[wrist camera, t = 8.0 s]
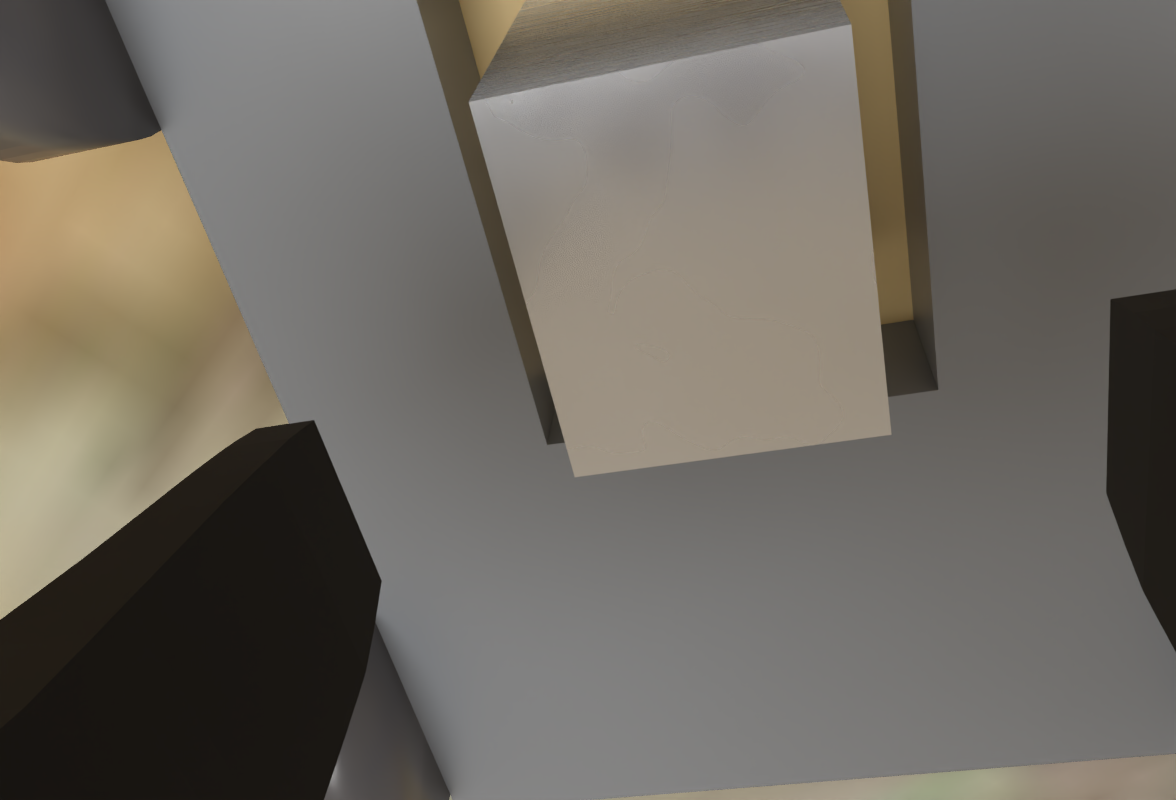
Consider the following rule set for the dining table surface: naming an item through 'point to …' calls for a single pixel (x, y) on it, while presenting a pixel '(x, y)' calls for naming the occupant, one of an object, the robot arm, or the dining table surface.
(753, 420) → the beige block
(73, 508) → the dining table surface
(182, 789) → the robot arm
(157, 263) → the dining table surface
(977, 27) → the chassis
